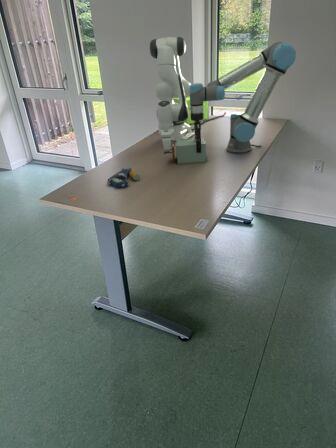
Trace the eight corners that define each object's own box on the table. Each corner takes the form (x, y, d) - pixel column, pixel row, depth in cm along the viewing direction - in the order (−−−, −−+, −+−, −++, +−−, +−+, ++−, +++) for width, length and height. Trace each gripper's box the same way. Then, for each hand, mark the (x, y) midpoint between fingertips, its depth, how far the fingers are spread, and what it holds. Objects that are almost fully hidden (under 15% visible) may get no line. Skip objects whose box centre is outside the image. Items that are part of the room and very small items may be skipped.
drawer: (164, 163, 204) (163, 148, 199) (164, 157, 212) (163, 143, 207) (199, 160, 203) (199, 145, 198) (198, 155, 211) (198, 140, 206)
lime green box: (191, 115, 302) (190, 88, 290) (208, 118, 288) (208, 90, 276) (170, 121, 289) (168, 93, 277) (187, 125, 275) (185, 95, 263)
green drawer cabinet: (177, 163, 203) (176, 145, 198) (177, 157, 212) (176, 140, 207) (206, 161, 203) (205, 143, 197) (204, 155, 212) (204, 138, 206)
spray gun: (146, 174, 192) (124, 172, 198) (145, 167, 190) (123, 165, 196) (127, 190, 176) (104, 187, 183) (125, 183, 174) (102, 180, 181)
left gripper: (161, 126, 207) (163, 147, 214) (160, 135, 190) (162, 158, 197) (171, 125, 207) (172, 147, 214) (171, 134, 189) (173, 158, 196)
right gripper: (189, 108, 203) (191, 144, 214) (191, 118, 183) (193, 156, 194) (201, 107, 202) (202, 143, 214) (205, 116, 183) (206, 155, 194)
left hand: (168, 152), depth 205 cm, fingers closed
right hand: (198, 149), depth 204 cm, fingers closed on green drawer cabinet, 10 cm apart
